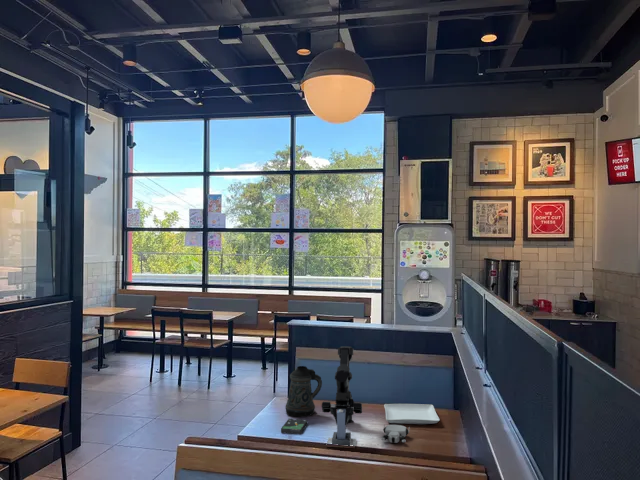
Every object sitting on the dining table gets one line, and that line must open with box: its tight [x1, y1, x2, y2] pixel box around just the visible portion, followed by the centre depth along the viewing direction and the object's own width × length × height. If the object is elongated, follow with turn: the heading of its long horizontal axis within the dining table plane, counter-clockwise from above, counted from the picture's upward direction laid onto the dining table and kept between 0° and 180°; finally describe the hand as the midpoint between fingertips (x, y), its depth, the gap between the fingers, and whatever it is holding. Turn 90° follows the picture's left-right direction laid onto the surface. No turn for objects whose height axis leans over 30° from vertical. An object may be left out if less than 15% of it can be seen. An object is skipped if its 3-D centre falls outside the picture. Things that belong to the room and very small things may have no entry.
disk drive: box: [280, 418, 309, 435], centre depth 235 cm, size 10×3×15 cm
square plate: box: [383, 403, 440, 425], centre depth 250 cm, size 27×27×4 cm
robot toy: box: [380, 424, 410, 444], centre depth 219 cm, size 12×4×15 cm
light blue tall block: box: [336, 409, 347, 439], centre depth 214 cm, size 6×4×13 cm, turn 173°
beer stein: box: [284, 365, 323, 418], centre depth 261 cm, size 16×19×25 cm
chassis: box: [326, 431, 357, 446], centre depth 214 cm, size 10×13×4 cm
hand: (341, 424), depth 213 cm, fingers closed on light blue tall block, 3 cm apart
